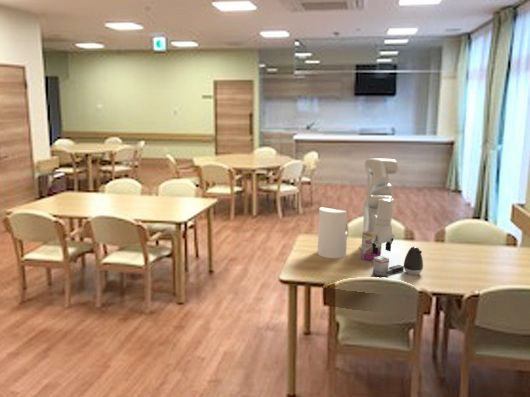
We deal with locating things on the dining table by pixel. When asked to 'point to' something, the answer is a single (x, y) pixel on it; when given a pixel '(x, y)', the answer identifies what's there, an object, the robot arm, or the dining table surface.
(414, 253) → the dark brown rounded piece
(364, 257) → the candy bar box
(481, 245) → the dining table surface
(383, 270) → the cardboard mailer box
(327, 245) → the cylinder
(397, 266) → the small saucepan
